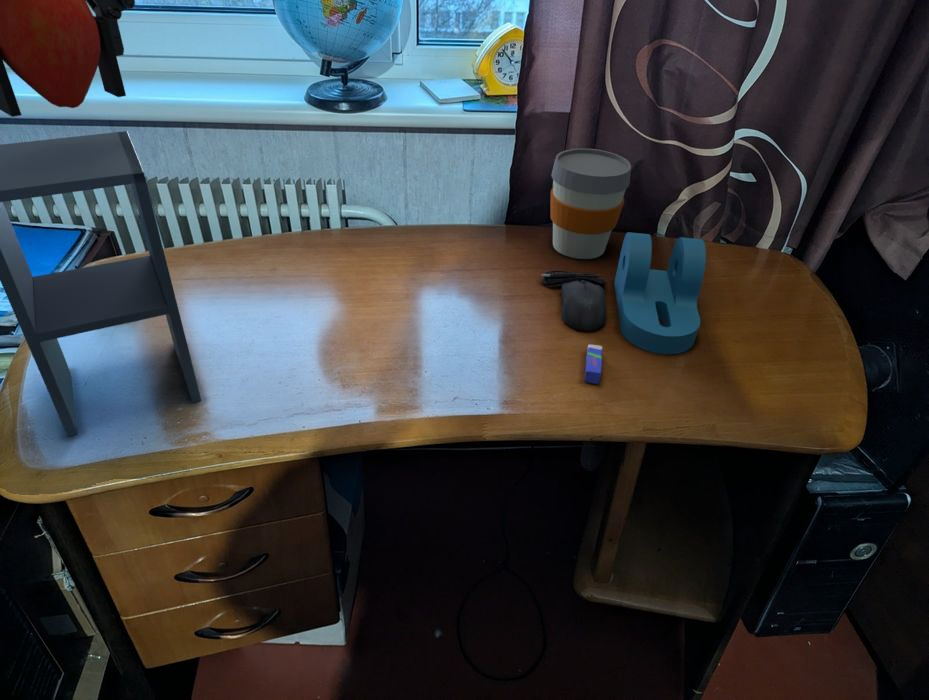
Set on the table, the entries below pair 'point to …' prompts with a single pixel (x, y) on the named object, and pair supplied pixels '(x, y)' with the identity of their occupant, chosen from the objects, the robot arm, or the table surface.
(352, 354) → the table surface
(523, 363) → the table surface
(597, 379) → the eraser
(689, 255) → the bracket
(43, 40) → the apple
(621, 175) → the reusable coffee cup
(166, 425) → the table surface
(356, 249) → the table surface
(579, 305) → the computer mouse
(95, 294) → the shelf
